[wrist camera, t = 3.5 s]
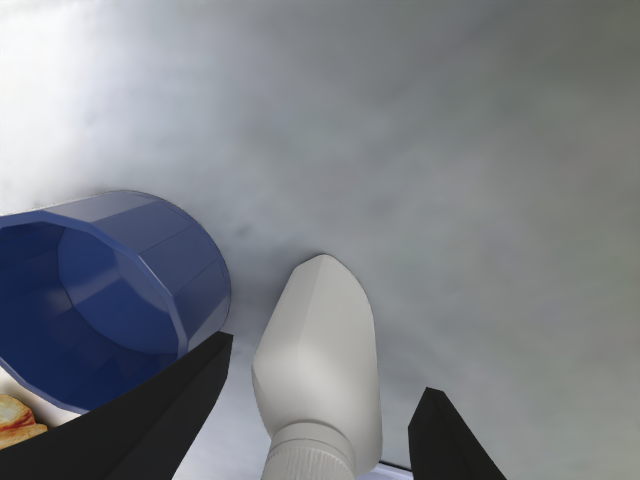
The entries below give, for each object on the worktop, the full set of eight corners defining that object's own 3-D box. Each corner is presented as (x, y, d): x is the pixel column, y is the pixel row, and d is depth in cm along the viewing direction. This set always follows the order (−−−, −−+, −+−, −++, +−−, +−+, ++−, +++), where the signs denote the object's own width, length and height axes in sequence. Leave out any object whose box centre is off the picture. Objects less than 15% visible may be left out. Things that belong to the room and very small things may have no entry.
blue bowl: (220, 371, 19) (179, 443, 15) (66, 329, 20) (-20, 386, 15) (242, 217, 16) (196, 251, 11) (53, 169, 16) (-64, 183, 12)
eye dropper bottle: (297, 339, 18) (195, 685, 7) (293, 250, 16) (142, 519, 5) (372, 343, 17) (399, 726, 6) (377, 252, 16) (426, 560, 4)
